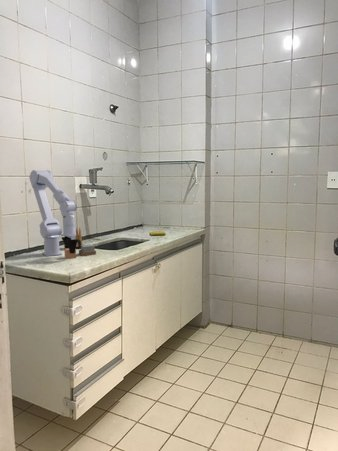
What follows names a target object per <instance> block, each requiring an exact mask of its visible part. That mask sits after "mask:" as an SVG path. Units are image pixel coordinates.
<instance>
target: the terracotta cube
mask: <svg viewBox="0 0 338 451" xmlns="http://www.w3.org/2000/svg"><path fill="white" fill-rule="evenodd" d="M64 258H65V259H66V260H72V259H77V249H75V253H72V254H70V251H69V248H67V249H65V248H64Z"/></svg>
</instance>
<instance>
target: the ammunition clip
mask: <svg viewBox="0 0 338 451" xmlns="http://www.w3.org/2000/svg"><path fill="white" fill-rule="evenodd" d="M75 233H76V236H75V237H76V239H78V242H77V244H76V250H81V245H83V239H82V231H81V227H75ZM63 247H64V249H65V245H64V246H63Z"/></svg>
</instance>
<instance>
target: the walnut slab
mask: <svg viewBox="0 0 338 451" xmlns="http://www.w3.org/2000/svg"><path fill="white" fill-rule="evenodd" d="M78 254H79V255H80V256H82V257H87V256H96V255H97V250H95V251H87V252H84V251H82V250H81V249H78Z"/></svg>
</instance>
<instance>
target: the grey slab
mask: <svg viewBox="0 0 338 451" xmlns="http://www.w3.org/2000/svg"><path fill="white" fill-rule="evenodd" d="M80 250H82V251H84V252H87V251H96V247H95V245H94V244H91V243H90V244H82V245H81V249H80Z"/></svg>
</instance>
